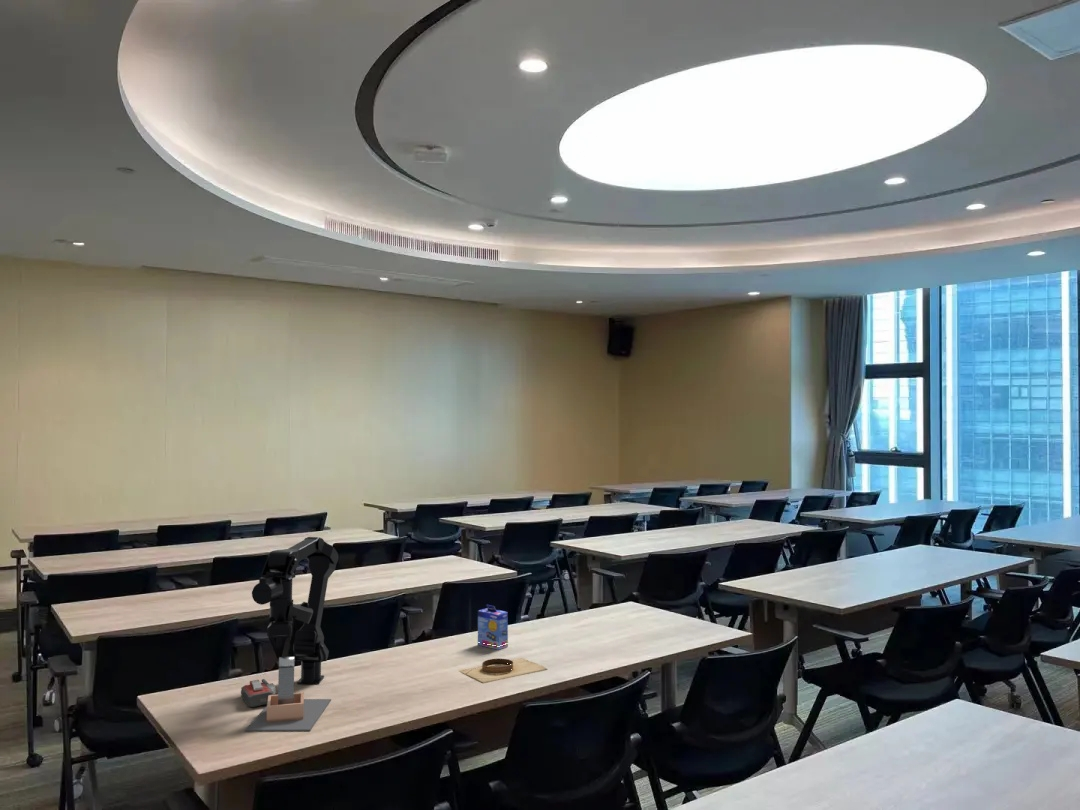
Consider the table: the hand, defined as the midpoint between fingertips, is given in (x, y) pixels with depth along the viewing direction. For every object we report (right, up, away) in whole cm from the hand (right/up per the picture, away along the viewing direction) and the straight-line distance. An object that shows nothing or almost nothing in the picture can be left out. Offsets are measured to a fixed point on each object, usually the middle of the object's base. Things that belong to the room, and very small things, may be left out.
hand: (279, 654), depth 213 cm
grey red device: (-7, -13, +3) cm, 15 cm away
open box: (+5, -12, -11) cm, 17 cm away
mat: (+6, -13, -10) cm, 17 cm away
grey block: (+5, -12, -11) cm, 17 cm away
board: (+60, -16, +30) cm, 69 cm away
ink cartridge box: (+55, -16, +57) cm, 81 cm away
